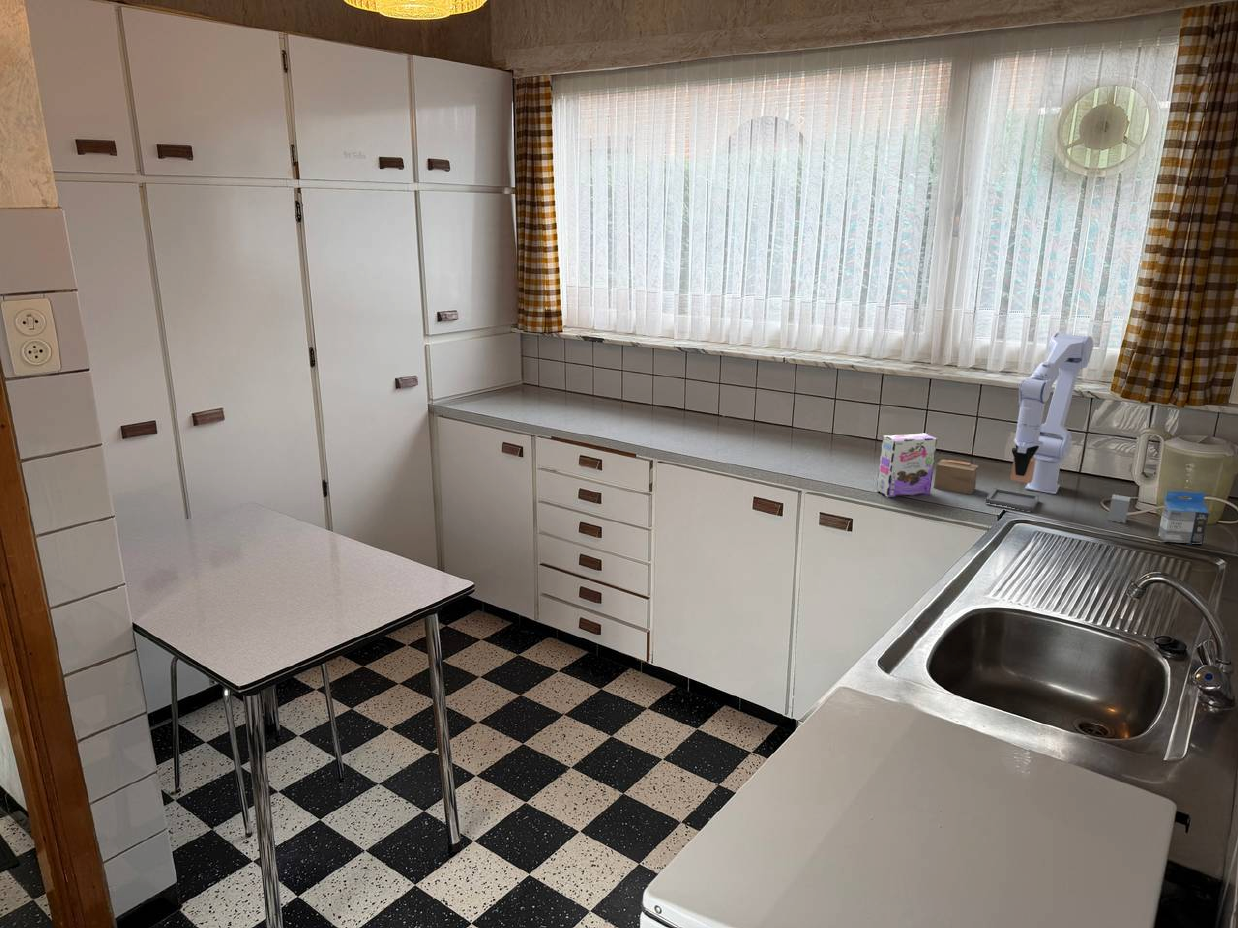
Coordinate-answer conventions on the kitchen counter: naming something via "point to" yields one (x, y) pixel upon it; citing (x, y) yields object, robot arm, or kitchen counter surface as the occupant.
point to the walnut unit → (956, 476)
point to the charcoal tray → (1013, 499)
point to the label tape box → (1184, 517)
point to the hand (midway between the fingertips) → (1021, 473)
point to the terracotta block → (1028, 475)
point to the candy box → (906, 464)
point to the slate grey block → (1118, 508)
